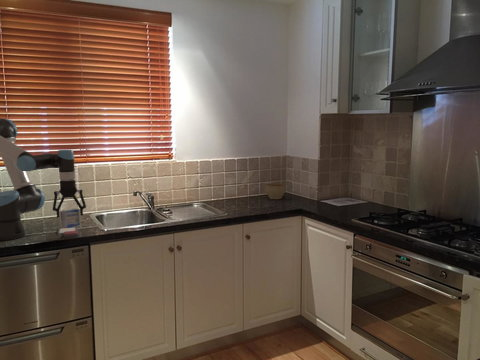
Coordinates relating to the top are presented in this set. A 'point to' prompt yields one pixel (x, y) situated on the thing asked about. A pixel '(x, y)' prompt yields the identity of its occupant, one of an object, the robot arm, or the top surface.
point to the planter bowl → (275, 190)
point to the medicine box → (70, 218)
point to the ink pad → (71, 233)
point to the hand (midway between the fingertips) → (70, 222)
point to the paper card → (66, 229)
